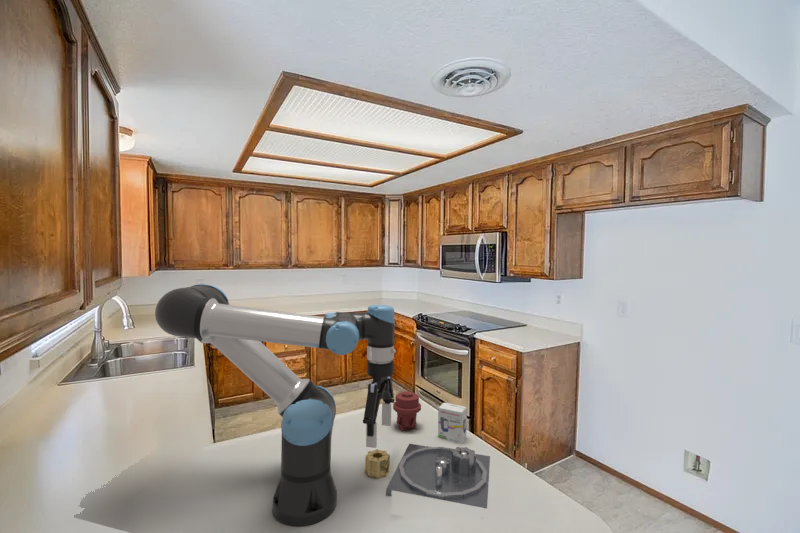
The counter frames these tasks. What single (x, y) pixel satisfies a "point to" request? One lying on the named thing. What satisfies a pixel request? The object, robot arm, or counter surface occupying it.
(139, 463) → the counter surface
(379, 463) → the planet gear
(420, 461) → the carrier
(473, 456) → the seated gear
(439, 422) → the ink box
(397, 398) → the mechanical component
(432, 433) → the counter surface
